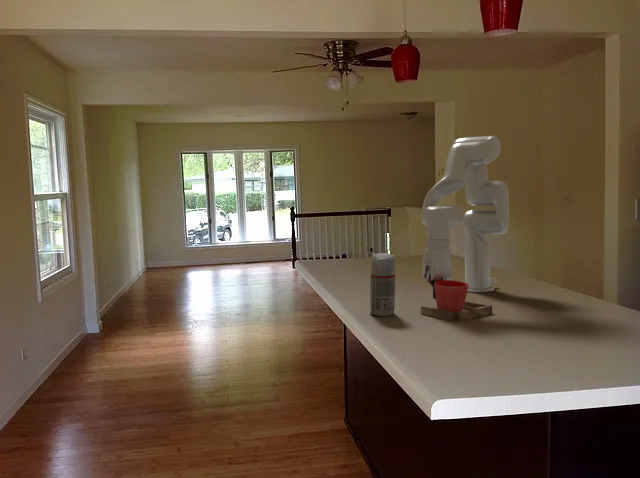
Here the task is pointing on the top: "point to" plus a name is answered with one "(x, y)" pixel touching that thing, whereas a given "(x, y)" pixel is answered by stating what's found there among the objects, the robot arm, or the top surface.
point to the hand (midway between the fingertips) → (438, 298)
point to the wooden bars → (472, 312)
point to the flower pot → (450, 295)
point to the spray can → (382, 284)
